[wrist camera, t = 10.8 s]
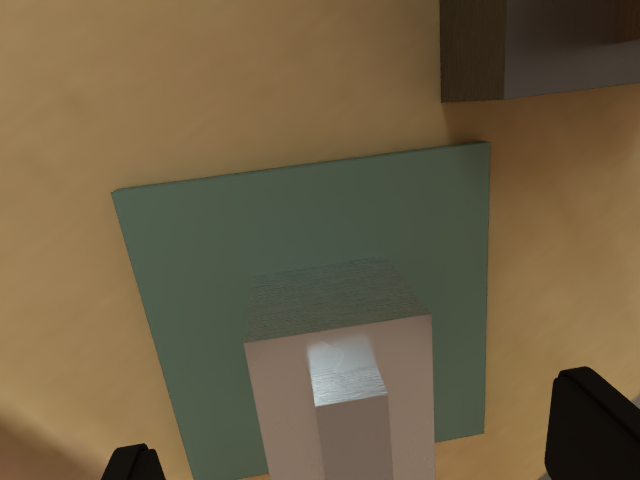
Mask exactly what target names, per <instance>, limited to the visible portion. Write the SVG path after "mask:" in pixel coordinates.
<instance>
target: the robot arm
mask: <svg viewBox="0 0 640 480" xmlns="http://www.w3.org/2000/svg"><path fill="white" fill-rule="evenodd" d="M545 467H546V470H547V472H548V474H549V476H550V477H551V479H552V480H640V409H639V408H638V407H636V406H635V405H634V404H633V403H632V402H630V401H629V400H628V399H627V398H626V397H625V396H623V395H622V394H621V393H620V392H619V391H618V390H616V389H615V388H614V387H613V386H612V385H610V384H609V383H608V382H607V381H606V380H605V379H603V378H602V377H601V376H600V375H599V374H597V373H596V372H595V371H594V370H592V369H591V368H589V367H586V366H584V367H579V368H573V369H567V370H562V371H560V372H559V375H558V378H555V379H554V382H553V389H552V397H551V406H550V415H549V424H548V433H547V442H546V451H545ZM101 480H166V479H165V476H164V473H163V470H162V467H161V464H160V462H159V459H158V456H157V453H156V451H155V449H148V447H147V445H146V444H145V443H143V444H137V445H131V446H125V447H120V448H117V449H116V450H115V451H114V452H113V454H112V456H111V458H110V460H109V463H108V465H107V467H106V469H105V472H104V474H103V476H102V478H101Z"/></svg>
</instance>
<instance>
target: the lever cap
mask: <svg viewBox="0 0 640 480" xmlns="http://www.w3.org/2000/svg"><path fill="white" fill-rule="evenodd" d="M243 344H244V349H245V354H246V359H247V364H248V369H249V374H250V379H251V384H252V389H253V394H254V399H255V404H256V409H257V414H258V419H259V424H260V429H261V435H262V440H263V445H264V450H265V455H266V460H267V465H268V470H269V475H270V480H435V444H434V399H433V353H432V314H431V312H430V311H429V310H428V309H427V307H426V306H425V305H424V304H423V302H422V301H421V300H420V298H419V297H418V296H417V295H416V293H415V292H414V291H413V289H412V288H411V287H410V286H409V284H408V283H407V282H406V281H405V279H404V278H403V277H402V275H401V274H400V273H399V272H398V270H397V269H396V268H395V266H394V265H393V264H392V263H391V261H390V260H389V259H388V258H387V256H381V257H374V258H367V259H360V260H354V261H347V262H340V263H333V264H326V265H319V266H312V267H305V268H298V269H291V270H285V271H278V272H271V273H264V274H257V275H252V280H251V288H250V296H249V304H248V312H247V320H246V327H245V335H244V343H243Z"/></svg>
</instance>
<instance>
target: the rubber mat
mask: <svg viewBox="0 0 640 480" xmlns="http://www.w3.org/2000/svg"><path fill="white" fill-rule="evenodd" d="M489 178H490V142H486V141H477V142H470V143H462V144H455V145H447V146H440V147H432V148H425V149H417V150H409V151H402V152H394V153H387V154H379V155H372V156H364V157H357V158H349V159H341V160H334V161H326V162H319V163H311V164H304V165H296V166H289V167H281V168H273V169H266V170H258V171H251V172H243V173H236V174H228V175H221V176H213V177H205V178H198V179H190V180H183V181H175V182H168V183H160V184H153V185H145V186H137V187H130V188H122V189H117V190H115V191H113V192H111V195H112V198H113V202H114V205H115V209H116V212H117V216H118V219H119V223H120V226H121V229H122V233H123V236H124V240H125V243H126V247H127V250H128V254H129V257H130V261H131V264H132V268H133V271H134V274H135V278H136V281H137V285H138V288H139V292H140V295H141V299H142V302H143V306H144V309H145V313H146V316H147V320H148V323H149V326H150V330H151V333H152V337H153V340H154V344H155V347H156V351H157V354H158V358H159V361H160V365H161V368H162V371H163V375H164V378H165V382H166V385H167V389H168V392H169V396H170V399H171V403H172V406H173V410H174V413H175V417H176V420H177V423H178V427H179V430H180V434H181V437H182V441H183V444H184V448H185V451H186V455H187V458H188V462H189V465H190V468H191V472H192V475H193V479H194V480H236V479H242V478H247V477H252V476H258V475H263V474H269V470H268V465H267V460H266V455H265V450H264V445H263V440H262V435H261V429H260V424H259V419H258V414H257V409H256V404H255V399H254V394H253V389H252V384H251V379H250V374H249V369H248V364H247V359H246V354H245V349H244V344H243V343H244V335H245V327H246V320H247V312H248V304H249V296H250V288H251V280H252V275H257V274H264V273H271V272H278V271H285V270H291V269H298V268H305V267H312V266H319V265H326V264H333V263H340V262H347V261H354V260H360V259H367V258H374V257H381V256H387V258H388V259H389V260H390V261H391V263H392V264H393V265H394V266H395V268H396V269H397V270H398V272H399V273H400V274H401V275H402V277H403V278H404V279H405V281H406V282H407V283H408V284H409V286H410V287H411V288H412V289H413V291H414V292H415V293H416V295H417V296H418V297H419V298H420V300H421V301H422V302H423V304H424V305H425V306H426V307H427V309H428V310H429V311H430V312H431V314H432V353H433V399H434V443H435V442H440V441H446V440H451V439H456V438H462V437H467V436H473V435H478V434H483V433H484V415H485V368H486V320H487V273H488V225H489Z"/></svg>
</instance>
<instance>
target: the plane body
mask: <svg viewBox="0 0 640 480" xmlns="http://www.w3.org/2000/svg"><path fill="white" fill-rule="evenodd" d="M440 51H441V103H445V102H465V101H485V100H504V99H512V98H520V97H528V96H536V95H544V94H552V93H560V92H568V91H576V90H584V89H592V88H600V87H608V86H616V85H624V84H632V83H640V0H440Z"/></svg>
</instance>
